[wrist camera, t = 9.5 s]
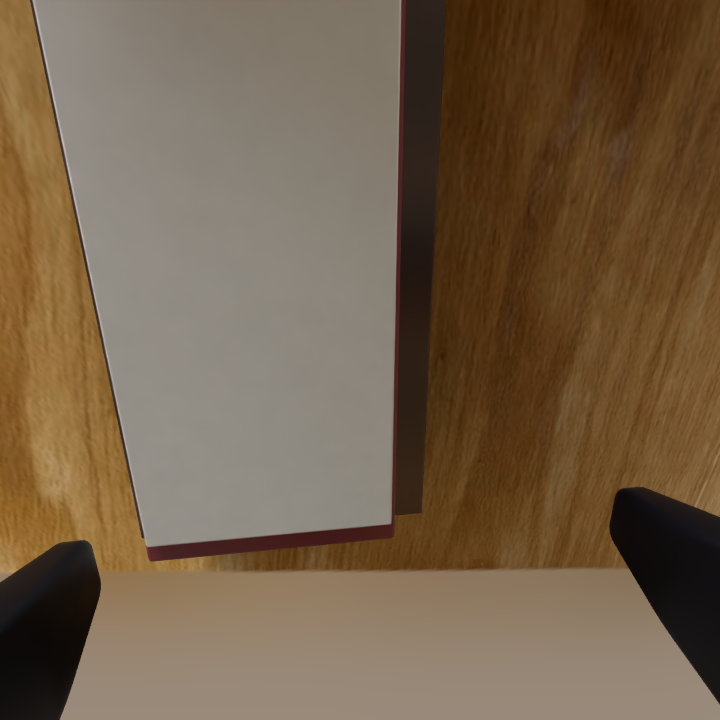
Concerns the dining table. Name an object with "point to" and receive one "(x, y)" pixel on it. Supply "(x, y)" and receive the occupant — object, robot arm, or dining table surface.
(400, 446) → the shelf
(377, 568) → the dining table surface
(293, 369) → the red white box
